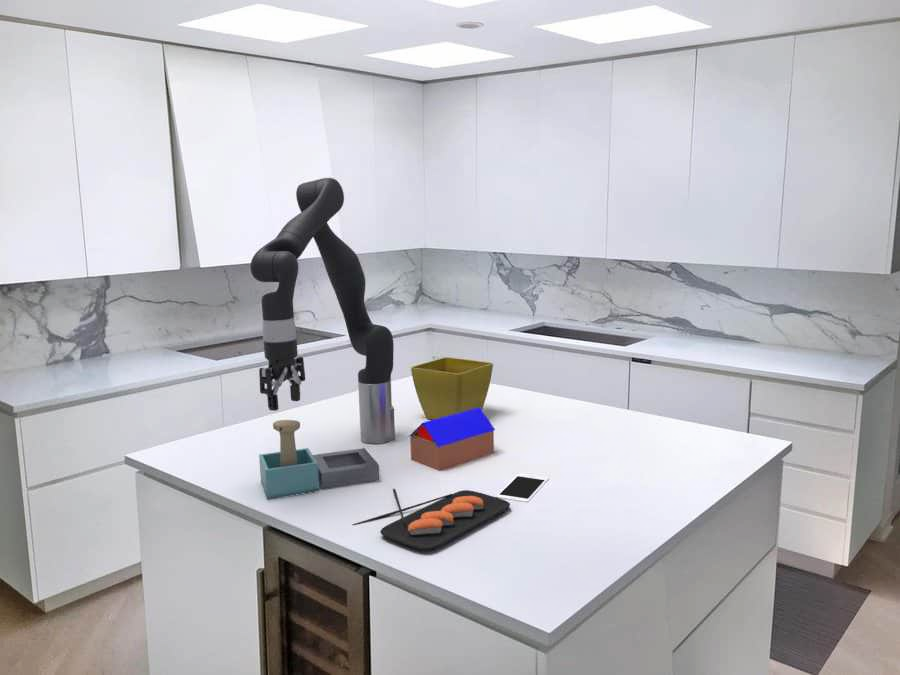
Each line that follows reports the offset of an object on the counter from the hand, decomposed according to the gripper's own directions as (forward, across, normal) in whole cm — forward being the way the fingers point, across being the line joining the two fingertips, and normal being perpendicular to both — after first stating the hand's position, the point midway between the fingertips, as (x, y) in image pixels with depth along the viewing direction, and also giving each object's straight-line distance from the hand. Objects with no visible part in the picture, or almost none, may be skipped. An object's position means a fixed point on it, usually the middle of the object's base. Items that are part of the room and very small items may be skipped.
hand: (285, 405), depth 178 cm
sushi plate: (+21, -3, -36) cm, 42 cm away
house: (+21, +34, -28) cm, 48 cm away
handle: (+20, 0, 0) cm, 20 cm away
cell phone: (+21, +19, -52) cm, 60 cm away
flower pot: (+21, +68, -13) cm, 72 cm away
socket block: (+20, +11, -8) cm, 25 cm away
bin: (+20, 0, 0) cm, 20 cm away
